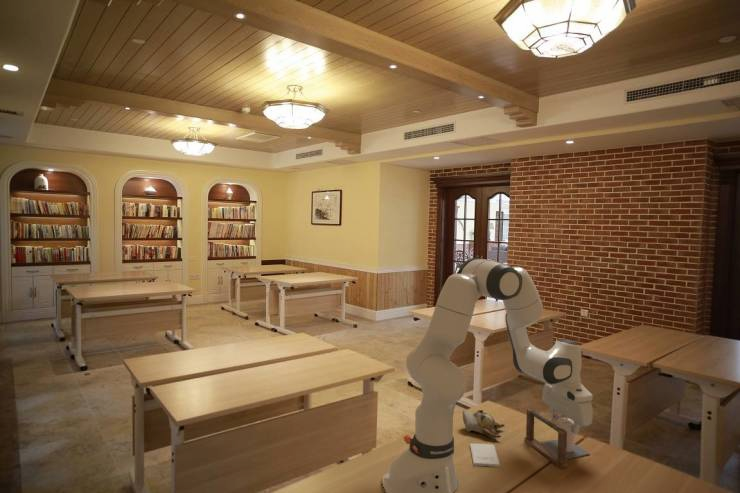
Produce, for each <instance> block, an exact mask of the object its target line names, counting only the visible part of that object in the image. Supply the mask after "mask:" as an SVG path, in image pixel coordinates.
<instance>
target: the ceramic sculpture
mask: <svg viewBox="0 0 740 493" xmlns="http://www.w3.org/2000/svg"><path fill="white" fill-rule="evenodd" d="M462 422H463V425H464V427H465V430H466V431H467V432H469V433H470V432H471V431H474V432H477V433H479V434H482V435H485V436H487V437H488V438H490V439H496V438H497V439H499V438H502V435H500V434H499V433H498V431H496V430H498V429H501V428H503V427H505V424H501V423H499V422H496V421H495V419H494V417H493V416H492V415H491V414H490V413H487V412H484V410H481V409H480V410H476V411H475V412H474V413H473V412H471V411H468V410H462Z"/></svg>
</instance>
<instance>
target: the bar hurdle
mask: <svg viewBox="0 0 740 493" xmlns="http://www.w3.org/2000/svg"><path fill="white" fill-rule="evenodd" d="M535 418H536V419H537V420H539V421H540V422H542V423H544V424H545V425H547V426H548V427H550V428H551V429H552V430H554V431H556V432H557V433H558V434H557V440H558V455H556V454H555V453H554V452H552V451H551V450H549V449H548V448H547V447H545V446H544V445H543V444H541V442H540V441H539V440H537V439H536V438H535ZM525 424H526V425H525V426H526V428H525V429H526V430H525V431H526V433H525V434H526V435H525V437H524V442H525V443H526V444H528V445H529V446H530V447H531V448H533V449H534V450H536V451H537V452H538V453H539V454H541V455H542V456H543V457H544V458H546V459H547V460H548V461H550V462H552V464H554V465H555V466H557V467H558V468H559V469H562V468H567V467H569V462H567V460H566V449H567V431H565V430H564V429H561V428H559V427H558V425H556V424H554V423H553V422H552V421H551V420H548V419H546V418H545V417H544V416H542V415H541V414H539V413H537V412H536V411H535V410H534V409H532V408H527V409H526V422H525Z"/></svg>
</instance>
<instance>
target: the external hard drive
mask: <svg viewBox="0 0 740 493" xmlns="http://www.w3.org/2000/svg"><path fill="white" fill-rule="evenodd" d="M469 447H470V448H469V449H470V452H471V458H472V459H471V460H472V464H473V466H474V467H489V468H501V465H500V461H499V457H498V453H497V450H496V447H495V444H491V443H490V444H489V443H487V444H486V443H473V442H472V443H471V442H470V444H469Z"/></svg>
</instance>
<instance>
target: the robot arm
mask: <svg viewBox="0 0 740 493" xmlns="http://www.w3.org/2000/svg"><path fill="white" fill-rule="evenodd" d="M481 297H485V298H489V299H494V300H497V301H502V302H503V305H504V308H505V311H506V313H505V320H504V321H505V324H506V325H505V326H506V329H507V333H508V337H509V341H510V345H511V349H512V362H513V366H514V367H515V370H516V371H517V372H519V373H521V374H525V375H527V376H530V377H532V378H534V379H536V380H540V381H541V382H544V386H543V388H542V389H543V390H542V395H541V396H542V397H541V399H542V402H543V404H545V405H546V406H548V407H549V411H550V414H551V420H552V421H554V422H555V423H557V419H558V418H560V416H559V414H561V415H563V416H565V418H566V417H567V418H569V419H571V420H573V421H574V424H575V426H574V427H572V430H571V431H572V432H573V433H574V434H575V435H578V434H580V428H581V427H585V426H590V425H591V424H592V423H593V419H594V418H593V416H594V414H593V413H594V411H593V409H594V407H593V404H592V401H593V399H594V398H593V397H594V396H593V394H592V392H591V391H589V390H588V389H587V388H586V387H585V386H584V384H582V378H581V371H582V350H581V347H580V345H579V344H578V343H577V342H575V341H573V340H568V339H562V338H559V339H556V340H555V343H554V345H553V346H552V347H550V349H548V350H544V349H541V348H539V347H536V346H535V345H533V344H532V343H531V342H530V339H529V335H528V332H527V331H528V330H527V328H528V327H530V326H532V325H534V324H536V323H537V322H539V320H540V319H541V318H542V315H543V313H544V307H543V306H544V305H543V302H542V299H541V296H540V293H539V291H538V288H537V287H536V285H535V282H534V281H533V279H532V277H531V276H530V274H529V272H528V271H527V270H526V269H525V268H524V267H520V266H511V265H509V264H506V263H501V262H498V261H495V260H492V259H484V258H478V257H477V258H471V259H470V258H469V259H467V260H465V261H464V262H463V263H462V264H461V265H460V266H459V269H458V271H457V272H456V273H453V274H451V275H449V276H448V277H447V279H446V281H445V282H444V285H443V286H442V288H441V290H440V293H439V295H438V298H437V301H436V304H435V307H434V311H433V313H432V315H431V316H432V317H431V320H430V323H429V325H428V328H427V330H426V332H425V334H424V336H423V338H422V339H421V341H420V342H419V344H418V345H417V346H416V347H415V348H414V349H412V350H411V351H410V352H408V355H407V357H406V360H405V367H406V370H407V371H408V374H409V376H410V377H411V379H412V380H413V381H414V382H415V383H416V384H418V385H419V386H420V388H421V391H422V398H421V402H420V404H419V405H418V406H417V407H416V409H415V413H414V414H415V418H414V419H415V421H414V422H415V423H414V424H415V426H414V427H415V428H414V431H415V432H414V434H413V437H411V436H410V435H409V434H405V435H404V436H403V441H404V442H405V444H406V445H409V447H408V448H407V449H406V450H404V451H403V452H402V453H401V454H399V455H398V456H396V458H394V459H393V460H392V462H391V464H390V468H389V469H390V470H389V472H387V473H385V474H383V476H382V479H381V485H382V484H383V486H382V488H383V487H384V488H383V490H384V489H385V490H384V492H385V491H386V492H385V493H454V492H455V491H456V490H457V489H458V486H459V482H458V480H457V476H456V471H455V462H454V454H455V437H454V435H453V434H454V433H453V432H454V426H453V425H454V412H455V408H456V405H457V402H458V401H460V400H461V399H462V398H463V397H464V395H465V393H466V391H467V387H468V386H467V385H468V384H467V383H468V382H467V378H466V376H465V374H464V373H463V372H462V371H461V369H460V368H459V366H458V365H456V364H455V363H453V361H451V360H450V357H451V355H452V354H453V352H454V351H455V349H456V348H457V347H458V346H460V345H463V343H464V342H465V340H466V337H467V334H468V331H469V329H470V326H471V325H470V324H471V321H472V318H473V315H474V312H475V307H476V303H477V302H478V301H479V299H480V298H481ZM558 413H559V414H558ZM385 480H386V481H385Z"/></svg>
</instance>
